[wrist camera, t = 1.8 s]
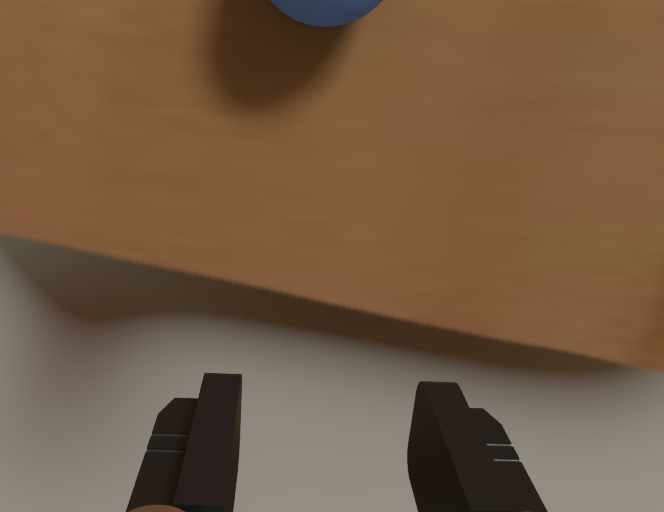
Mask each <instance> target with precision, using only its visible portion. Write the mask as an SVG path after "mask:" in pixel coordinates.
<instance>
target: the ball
mask: <svg viewBox="0 0 664 512" xmlns="http://www.w3.org/2000/svg"><path fill="white" fill-rule="evenodd" d="M270 1H271V2H272V3H273V4H274V5H275V6H276V7H277V8H278V9H279V10H281V11H282V12H283V13H285V14H286V15H288V16H289V17H291V18H293V19H295V20H297V21H299V22H302V23H305V24H308V25H312V26H319V27H333V26H340V25H344V24H348V23H351V22H353V21H355V20H358V19H360V18H361V17H363V16H365V15H366V14H368V13H369V12H370V11H371V10H373V9H374V8H375V7H376V6H377V5H378V4H379V3H380V2H381V1H382V0H270Z"/></svg>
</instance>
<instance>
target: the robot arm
mask: <svg viewBox="0 0 664 512" xmlns="http://www.w3.org/2000/svg"><path fill="white" fill-rule="evenodd" d="M241 397H242V374H221V373H220V374H219V373H205V374H204V377H203V381H202V385H201V389H200V394H199V398H198V399H196V398H174V399H173V400H172V401H171V402H170V403H169V404H168V405H167V406H166V407H165V408H164V409H163V410H162V411H161V412H160V413H159V414H158V416H157V419H156V422H155V425H154V428H153V431H152V436H151V437H150V440H149V443H148V446H147V452H146V453H145V455H144V458H143V461H142V465H141V467H140V470H139V473H138V476H137V479H136V482H135V486H134V489H133V492H132V495H131V498H130V501H129V504H128V507H127V510H126V512H233V509H234V500H235V491H236V482H237V473H238V462H239V447H240V446H239V445H240V423H241ZM407 464H408V473H409V479H410V482H411V487H412V490H413V494H414V498H415V502H416V505H417V509H418V512H547V510H546V508H545V506H544V504H543V502H542V500H541V499H540V497H539V495H538V493H537V491H536V489H535V487H534V485H533V483H532V482H531V480H530V478H529V476H528V474H527V472H526V470H525V468H524V466H523V464H522V462H519V457H518V455H517V453H516V451H515V449H514V447H511V442H510V440H509V438H508V436H507V434H506V432H505V430H504V428H503V426H502V425H501V424H500V423H499V422H498V421H497V420H496V419H495V418H493V417H492V416H491V415H490V414H489V413H488V412H487V411H485V410H484V409H483V408H469V406H468V404H467V402H466V399H465V397H464V395H463V393H462V391H461V389H460V387H459V385H458V384H457V383H454V382H427V381H421V382H419V384H418V386H417V390H416V396H415V403H414V409H413V415H412V422H411V428H410V435H409V441H408V451H407Z"/></svg>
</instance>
